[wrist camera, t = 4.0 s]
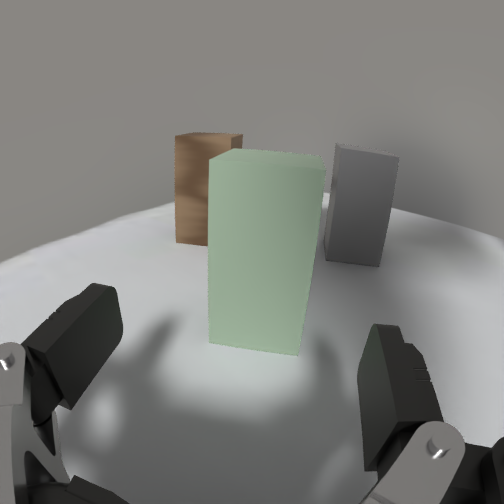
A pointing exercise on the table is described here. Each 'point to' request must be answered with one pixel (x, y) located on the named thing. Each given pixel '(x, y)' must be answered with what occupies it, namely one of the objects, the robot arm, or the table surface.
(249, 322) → the sage block
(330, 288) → the table surface
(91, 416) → the table surface
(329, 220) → the charcoal block
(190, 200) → the walnut block
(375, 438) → the robot arm
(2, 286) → the table surface
